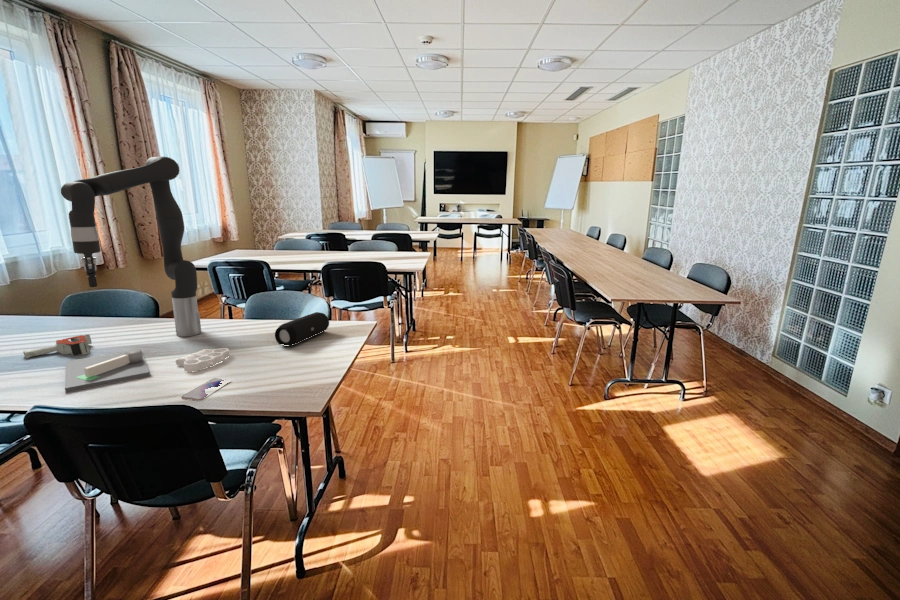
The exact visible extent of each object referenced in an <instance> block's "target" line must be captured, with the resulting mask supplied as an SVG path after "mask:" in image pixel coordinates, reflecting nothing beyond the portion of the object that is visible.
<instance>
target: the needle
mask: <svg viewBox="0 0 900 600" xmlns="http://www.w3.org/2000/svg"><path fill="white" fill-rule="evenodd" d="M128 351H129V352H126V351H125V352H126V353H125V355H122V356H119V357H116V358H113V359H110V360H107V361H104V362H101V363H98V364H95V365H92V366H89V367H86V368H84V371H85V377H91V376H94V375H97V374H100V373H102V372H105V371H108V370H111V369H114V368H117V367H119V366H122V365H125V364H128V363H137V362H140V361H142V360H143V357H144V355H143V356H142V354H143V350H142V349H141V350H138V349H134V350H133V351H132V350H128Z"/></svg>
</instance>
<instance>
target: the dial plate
mask: <svg viewBox="0 0 900 600" xmlns="http://www.w3.org/2000/svg"><path fill="white" fill-rule="evenodd" d="M137 350H141V351H142V349H137ZM129 351H130V350H128V351H121V352H116V353H109V354H104V355H96V356H91V357H84V358H80V359H74V360H73V359H72V360H68V361H67V360H66V361H65V379H64V390H65V391H64V392H65V394H66V393H71V392H72V393H73V392H77V391H82V390H86V389H90V388H91V389H92V388H96V387H101V386H107V385H112V384H116V383H122V382H127V381H133V380H139V379H141V378H142V379H143V378H147V377H151V373H150V369H149V367H148V363H146V360H145V357H144V354H143V353H142V356H143V360H142V361H140V362H137V363H128V364H125V365H122V366H119V367H117V368H114V369H111V370H108V371H105V372H102V373H100V374H97V375H94V376H91V377H85V371H84V368H86V367H89V366H92V365H95V364H98V363H101V362H104V361H107V360H110V359H113V358H116V357H119V356H122V355H125V353H126V352H129ZM131 351H133V350H131Z"/></svg>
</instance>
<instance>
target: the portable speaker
mask: <svg viewBox="0 0 900 600" xmlns="http://www.w3.org/2000/svg"><path fill="white" fill-rule="evenodd" d="M329 326H330V319H329V317H328V315H327V314H325V313H323V312H318V311H317V312H313V313H310V314H307V315H303V316H301V317H298V318H296V319H294V320H290V321H287V322H285V323H282V324H280V325H279V326H278V327H277V328H276V329H275V331H274V339H275V341H276V342H277V344H279V345H280V344H284V345H292V344H295V343H298V342H300V341H302V340H304V339H306V338H309V337H311V336H313V335H315V334H318V333H320V332H322V331H324V330H326V331H327V329H328V328H329ZM318 335H319V334H318ZM309 339H310V338H309ZM302 342H303V341H302ZM300 343H301V342H300ZM298 344H299V343H298ZM295 345H296V344H295Z"/></svg>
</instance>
